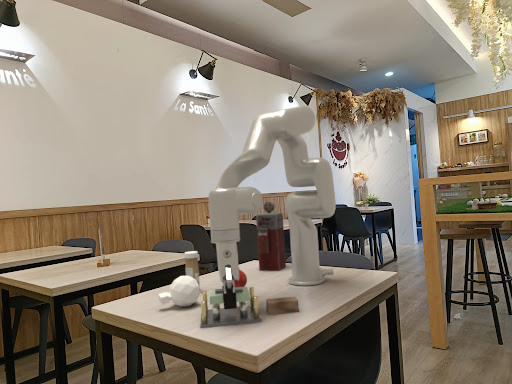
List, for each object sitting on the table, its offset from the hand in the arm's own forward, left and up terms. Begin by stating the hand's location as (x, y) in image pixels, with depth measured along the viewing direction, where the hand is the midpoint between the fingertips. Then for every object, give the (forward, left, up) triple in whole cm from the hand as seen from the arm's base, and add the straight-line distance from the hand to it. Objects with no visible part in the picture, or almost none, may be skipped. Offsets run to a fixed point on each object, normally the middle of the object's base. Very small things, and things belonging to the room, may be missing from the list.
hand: (229, 303), depth 100 cm
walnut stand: (-14, -1, -3) cm, 14 cm away
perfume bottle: (+14, -15, -4) cm, 21 cm away
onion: (-4, -26, -4) cm, 26 cm away
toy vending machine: (-20, -58, -4) cm, 61 cm away
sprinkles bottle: (+11, -31, -4) cm, 33 cm away
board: (0, 0, +1) cm, 1 cm away
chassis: (0, 0, -3) cm, 3 cm away
